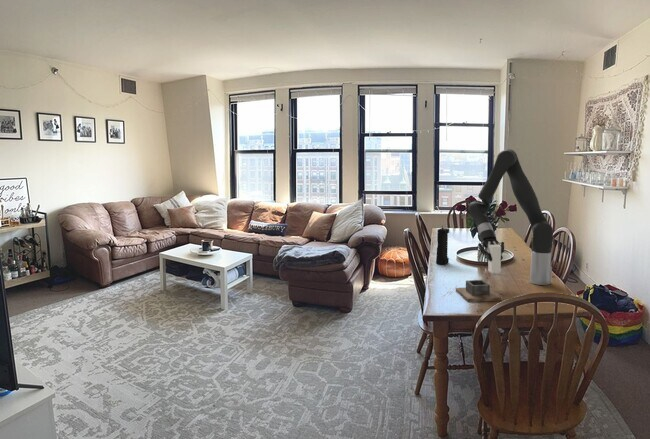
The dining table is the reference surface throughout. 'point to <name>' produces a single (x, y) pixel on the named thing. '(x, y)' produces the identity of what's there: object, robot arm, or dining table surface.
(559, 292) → the dining table surface
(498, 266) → the plug block
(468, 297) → the square socket base
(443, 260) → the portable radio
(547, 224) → the robot arm
